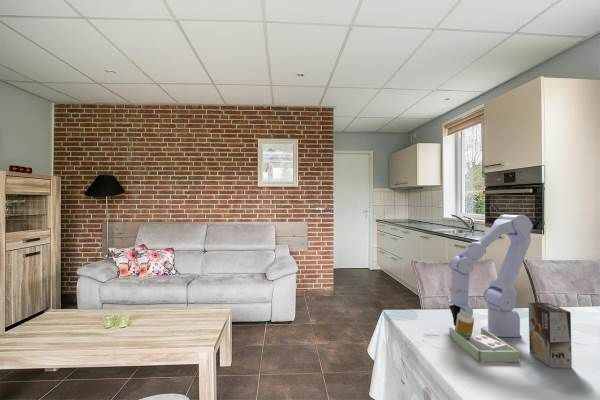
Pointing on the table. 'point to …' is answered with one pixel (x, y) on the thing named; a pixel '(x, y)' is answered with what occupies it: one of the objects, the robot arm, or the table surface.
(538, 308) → the coffee box
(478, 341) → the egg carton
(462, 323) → the supplement bottle
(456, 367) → the table surface
